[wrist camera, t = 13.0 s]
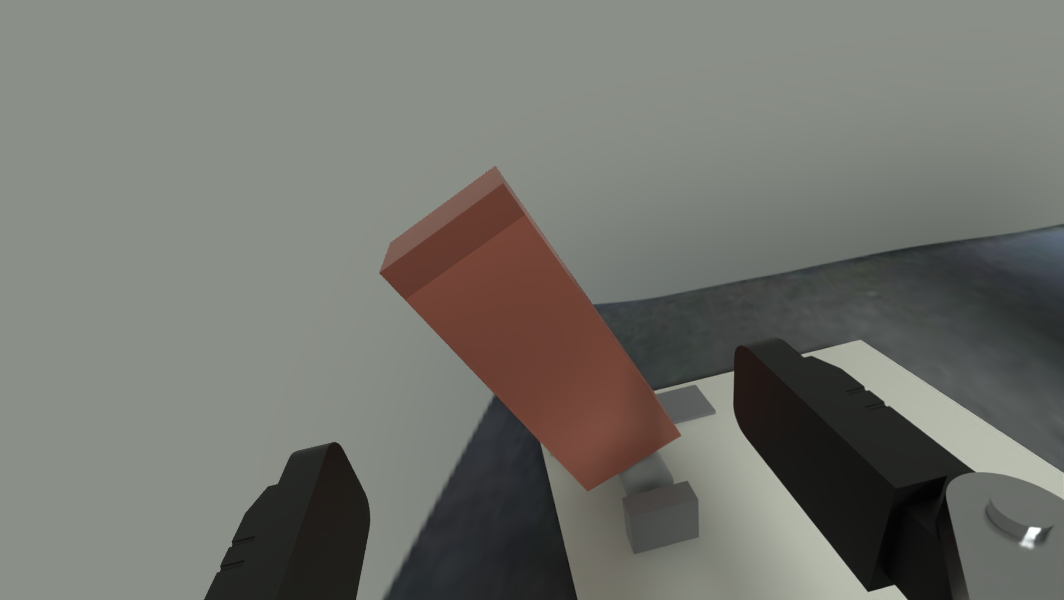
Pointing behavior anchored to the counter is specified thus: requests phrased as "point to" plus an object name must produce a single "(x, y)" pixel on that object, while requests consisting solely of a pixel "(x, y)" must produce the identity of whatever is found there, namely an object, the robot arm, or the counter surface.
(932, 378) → the counter surface
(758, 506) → the breaker base
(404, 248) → the lever
